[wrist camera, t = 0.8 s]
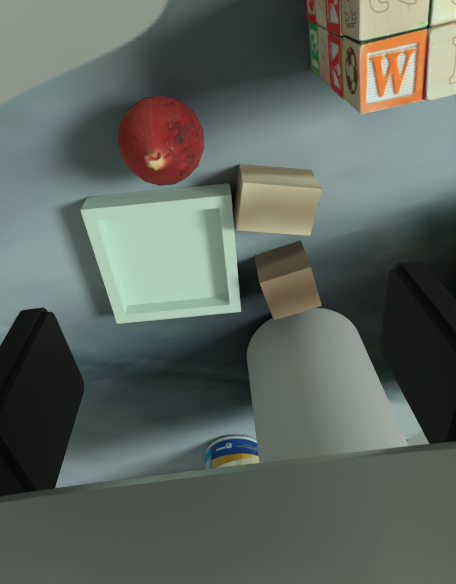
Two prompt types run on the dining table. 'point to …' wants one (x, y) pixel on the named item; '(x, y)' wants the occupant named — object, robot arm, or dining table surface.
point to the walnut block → (287, 280)
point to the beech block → (276, 199)
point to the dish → (166, 252)
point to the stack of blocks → (384, 50)
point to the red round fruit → (161, 140)
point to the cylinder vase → (316, 389)
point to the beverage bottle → (231, 452)
